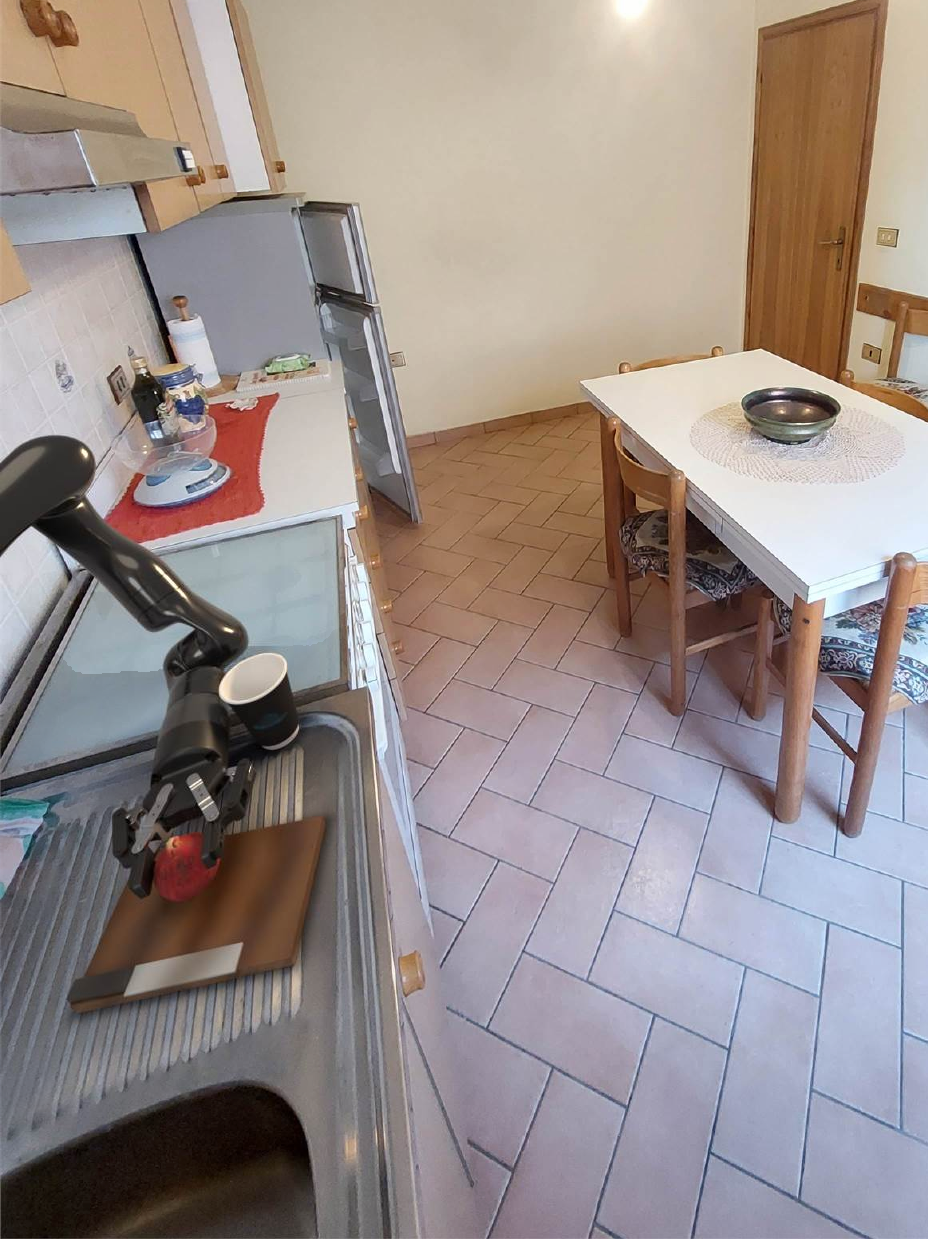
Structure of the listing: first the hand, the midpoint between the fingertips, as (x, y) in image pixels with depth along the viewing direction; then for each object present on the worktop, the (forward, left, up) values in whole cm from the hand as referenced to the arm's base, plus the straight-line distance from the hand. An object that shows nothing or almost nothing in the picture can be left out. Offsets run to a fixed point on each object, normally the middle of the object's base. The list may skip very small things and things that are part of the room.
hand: (175, 877), depth 63 cm
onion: (-1, +2, -6) cm, 7 cm away
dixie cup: (+2, +22, -8) cm, 23 cm away
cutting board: (+1, +1, -8) cm, 8 cm away
